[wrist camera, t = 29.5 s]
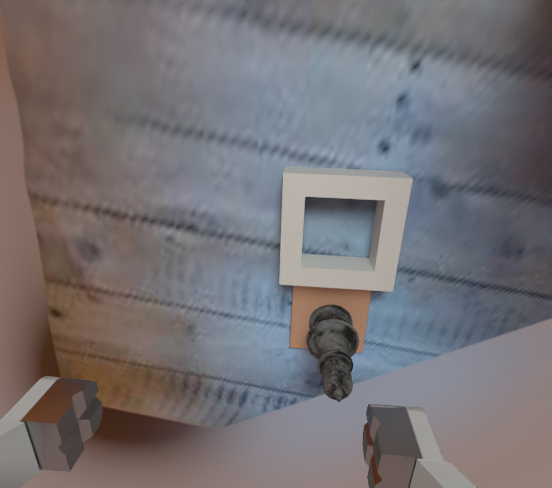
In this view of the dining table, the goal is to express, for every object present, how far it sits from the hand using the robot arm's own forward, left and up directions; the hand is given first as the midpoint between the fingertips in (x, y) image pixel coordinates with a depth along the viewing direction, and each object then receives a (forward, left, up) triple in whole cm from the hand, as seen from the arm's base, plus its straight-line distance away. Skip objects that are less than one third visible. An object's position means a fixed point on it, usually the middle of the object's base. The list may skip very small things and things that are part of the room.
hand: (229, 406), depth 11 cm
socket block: (-6, +4, -29) cm, 30 cm away
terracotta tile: (-6, +16, -29) cm, 34 cm away
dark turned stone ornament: (-6, +16, -29) cm, 34 cm away
